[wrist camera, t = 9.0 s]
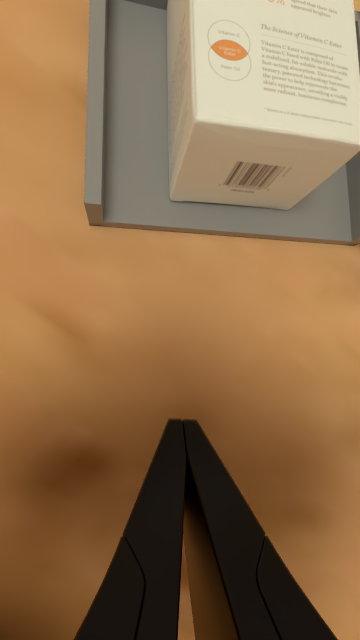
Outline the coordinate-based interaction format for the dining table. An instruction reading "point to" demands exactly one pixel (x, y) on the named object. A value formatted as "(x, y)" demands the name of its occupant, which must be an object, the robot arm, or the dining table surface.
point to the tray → (152, 145)
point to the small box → (260, 98)
